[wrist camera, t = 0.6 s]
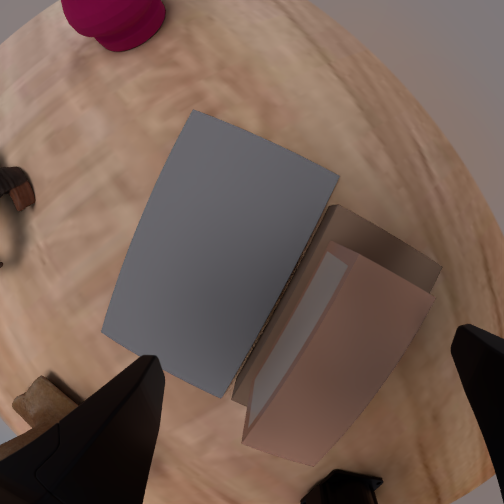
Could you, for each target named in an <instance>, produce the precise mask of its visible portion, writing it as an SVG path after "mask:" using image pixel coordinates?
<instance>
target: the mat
mask: <svg viewBox="0 0 504 504" xmlns="http://www.w3.org/2000/svg"><path fill="white" fill-rule="evenodd" d="M339 177H340V176H339V175H337V174H335V173H333V172H331V171H329V170H327V169H325V168H324V167H322V166H320V165H318V164H316V163H314V162H312V161H310V160H308V159H306V158H304V157H302V156H300V155H298V154H296V153H294V152H292V151H290V150H288V149H286V148H283V147H281V146H279V145H277V144H275V143H273V142H271V141H268V140H266V139H264V138H262V137H260V136H257V135H255V134H253V133H250V132H248V131H246V130H244V129H241V128H239V127H236V126H234V125H232V124H229V123H227V122H224V121H222V120H219V119H217V118H214V117H212V116H209V115H207V114H204V113H202V112H199V111H196V110H194V109H193V110H192V112H191V114H190V116H189V118H188V120H187V121H186V123H185V125H184V127H183V129H182V131H181V133H180V135H179V137H178V139H177V141H176V143H175V145H174V147H173V149H172V151H171V153H170V155H169V157H168V159H167V161H166V163H165V165H164V167H163V169H162V171H161V173H160V175H159V178H158V180H157V182H156V184H155V186H154V189H153V191H152V193H151V195H150V198H149V200H148V202H147V205H146V207H145V209H144V212H143V214H142V216H141V219H140V221H139V224H138V226H137V229H136V231H135V234H134V236H133V239H132V241H131V244H130V246H129V249H128V252H127V254H126V257H125V260H124V263H123V265H122V268H121V271H120V274H119V277H118V280H117V282H116V285H115V288H114V291H113V294H112V298H111V301H110V304H109V307H108V310H107V313H106V317H105V320H104V323H103V327H102V330H101V333H103V334H105V335H106V336H108V337H109V338H111V339H112V340H114V341H115V342H117V343H119V344H120V345H122V346H123V347H125V348H127V349H128V350H130V351H132V352H133V353H135V354H137V355H138V356H142V355H156V356H157V357H158V358H159V361H160V364H161V367H162V369H163V370H165V371H167V372H168V373H170V374H172V375H174V376H176V377H178V378H180V379H182V380H184V381H186V382H188V383H189V384H191V385H193V386H196V387H198V388H200V389H202V390H204V391H206V392H208V393H210V394H212V395H214V396H216V397H219V398H222V396H223V395H224V393H225V391H226V389H227V388H228V386H229V384H230V383H231V381H232V379H233V378H234V376H235V374H236V372H237V371H238V369H239V367H240V365H241V364H242V362H243V360H244V358H245V357H246V355H247V353H248V351H249V350H250V348H251V346H252V344H253V343H254V341H255V339H256V337H257V335H258V334H259V332H260V330H261V328H262V326H263V325H264V323H265V321H266V319H267V317H268V316H269V314H270V312H271V310H272V308H273V306H274V305H275V303H276V301H277V299H278V297H279V295H280V293H281V292H282V290H283V288H284V286H285V284H286V282H287V280H288V278H289V276H290V275H291V273H292V271H293V269H294V267H295V265H296V263H297V261H298V259H299V257H300V255H301V253H302V251H303V249H304V248H305V246H306V244H307V242H308V240H309V238H310V236H311V234H312V232H313V230H314V228H315V226H316V224H317V222H318V220H319V218H320V216H321V214H322V212H323V210H324V208H325V206H326V204H327V201H328V199H329V197H330V195H331V193H332V191H333V189H334V187H335V185H336V183H337V181H338V179H339Z"/></svg>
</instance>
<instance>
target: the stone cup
mask: <svg viewBox="0 0 504 504" xmlns="http://www.w3.org/2000/svg"><path fill="white" fill-rule="evenodd" d="M12 407H13V409H14V410H15V411H16V412H17V413H18V414H19V415H20V416H21V417H22V418H23V419H24V420H25V421H26V422H27V423H28V424H29V425H30V426H31V427H32V429H30V430H29V431H27V432H26V433H24V434H22V435H19V436H17V437H15V438H13V439H12V440H9V441H8V442H5V443H3V444H1V445H0V461H1V460H2V459H4V458H6V457H7V456H9V455H11V454H12V453H14V452H16V451H17V450H19V449H20V448H22V447H24V446H25V445H27V444H28V443H30V442H31V441H33V440H34V439H36V438H37V437H39V436H40V435H41V434H43V433H44V432H45V431H47V430H48V429H49V428H51V427H52V426H53V425H55V424H56V423H59V421H60V420H61V419H62V418H64V417H65V416H66V415H67V414H69V413H70V412H71V411H73V410H74V409H75V408H76V407H78V405H77V404H76V403H75V402H73V401H72V400H71V399H70V398H69V397H67V396H66V395H65V394H64V393H63V392H61V391H60V390H59V389H58V388H57V387H56V386H55V385H53V384H52V383H51V382H50V381H49V380H48V379H46V378H45V377H44V376H40V377H38V378H37V379H36V380H35V381H34V382H33V384H32V386H31V387H30V388H29V389H28V391H27V392H25V393H24V394H22V395H20V396H17V397H16V398H15V400H14V401H13V403H12Z"/></svg>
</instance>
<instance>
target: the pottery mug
mask: <svg viewBox="0 0 504 504" xmlns="http://www.w3.org/2000/svg"><path fill="white" fill-rule="evenodd" d="M4 194H9V195H10V197H11V198H12V200H13V202H14V204H15V207H16V210H17V211H22V210H23V209H25V208H26V207H27V206H30V205H31V204H33V203H35V198H34V193H33V191H32V189H31V186H30V185H29V182H28V181H27V178H26V177H25V175H24V173H23V172H22V171H21V170H20V169H19V168H18V167H1V168H0V197H2V196H3V195H4ZM2 266H3V263H2V262H0V268H1V267H2Z"/></svg>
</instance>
